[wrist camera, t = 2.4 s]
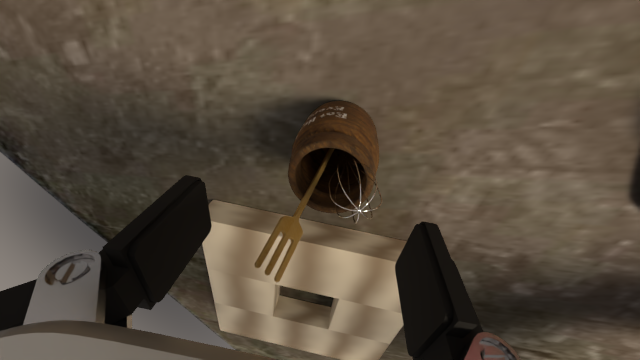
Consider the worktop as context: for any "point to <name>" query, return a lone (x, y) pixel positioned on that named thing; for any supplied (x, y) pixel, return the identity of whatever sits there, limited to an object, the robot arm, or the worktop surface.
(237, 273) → the socket board
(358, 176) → the utensil holder
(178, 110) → the worktop surface
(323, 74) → the worktop surface
